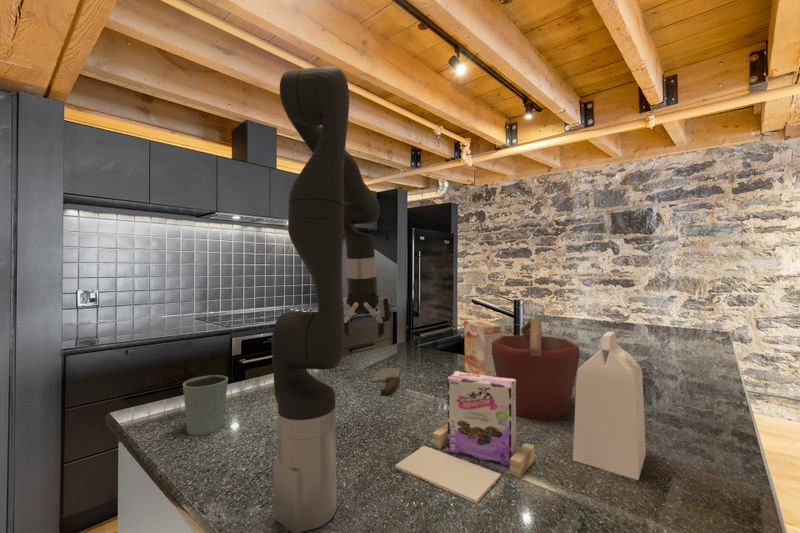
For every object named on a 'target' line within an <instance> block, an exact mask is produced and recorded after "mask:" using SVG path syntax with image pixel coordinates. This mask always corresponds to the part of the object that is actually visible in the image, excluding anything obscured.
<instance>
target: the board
mask: <svg viewBox="0 0 800 533" xmlns="http://www.w3.org/2000/svg"><path fill="white" fill-rule="evenodd" d="M394 468H395V469H396V470H399V471H401V472H403V473H405V474H407V473H408V475H410V474H411V475H410V476H412V475H413V476H412V477H414V476H416V477H418V478H417V479H419V478H421V479H423V480H425V481H424V482H426V481H428V482H429V483H428V482H427V483H428V484H430V483H431V484H430V485H432V484H433V486H435V487H436V488H439V489H441V488H442V489H441V490H443V491H447V492H448V491H449V492H448V493H450V492H451V493H450V494H453V495H456V496H457V495H458V497H459V498H462V499H464V500H466V501H468V502H471V503H473V504H476V505H477V504H478V503H480V501H481V500H482V499H483V498H484V496H485V495H487V493H488V492H489V491H490V490H491V489H492V488H493V486H494V485H495V484H496V483H497V482H498V481H499V480H500V479H501V478H502V475H501V473H500V472H496V471H494V470H491V469H489V468H485V467H484V466H483V467H482V466H480V465H477V464H474V463H472V462H469V461H466V460H464V459H461V458H459V457H455V456H453V455H450V454H448V453H445V452H442V451H440V450H437V449H434V448H432V447H431V448H430V447H428V446H426V445H423V446H421V447H420V448H418V449H417V450H415V451H414V452H413V453H411V454H409V455H408V456H407V457H405V458H404V459H402V460H400V461H399V462H398V463H396V464H394ZM416 477H415V478H416ZM500 477H501V478H500ZM499 478H500V479H499ZM421 479H420V480H421ZM498 479H499V480H498ZM423 480H422V481H423ZM497 480H498V481H497ZM496 481H497V482H496ZM491 487H492V488H491ZM481 498H482V499H481Z"/></svg>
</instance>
